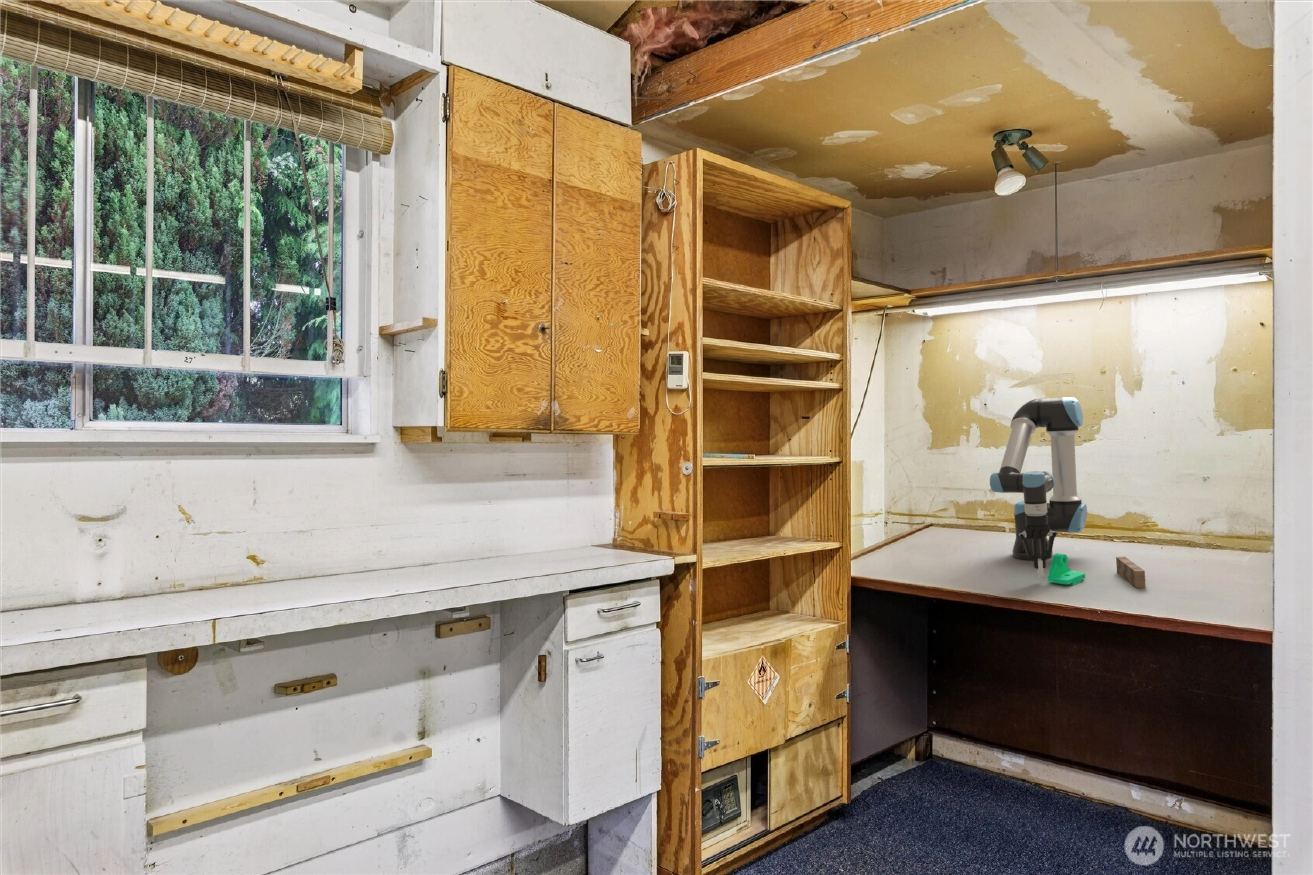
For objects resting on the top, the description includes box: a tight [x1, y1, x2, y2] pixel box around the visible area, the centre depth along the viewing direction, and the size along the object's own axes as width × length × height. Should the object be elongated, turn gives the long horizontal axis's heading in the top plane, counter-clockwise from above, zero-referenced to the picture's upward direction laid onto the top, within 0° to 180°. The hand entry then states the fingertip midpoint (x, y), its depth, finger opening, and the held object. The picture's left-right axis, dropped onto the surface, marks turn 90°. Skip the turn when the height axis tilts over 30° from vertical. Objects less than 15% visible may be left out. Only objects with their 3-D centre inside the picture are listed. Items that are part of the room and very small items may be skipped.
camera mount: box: [1047, 552, 1086, 586], centre depth 304 cm, size 12×8×10 cm, turn 122°
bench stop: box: [1115, 556, 1146, 589], centre depth 298 cm, size 20×3×6 cm, turn 168°
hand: (1040, 576), depth 305 cm, fingers closed
